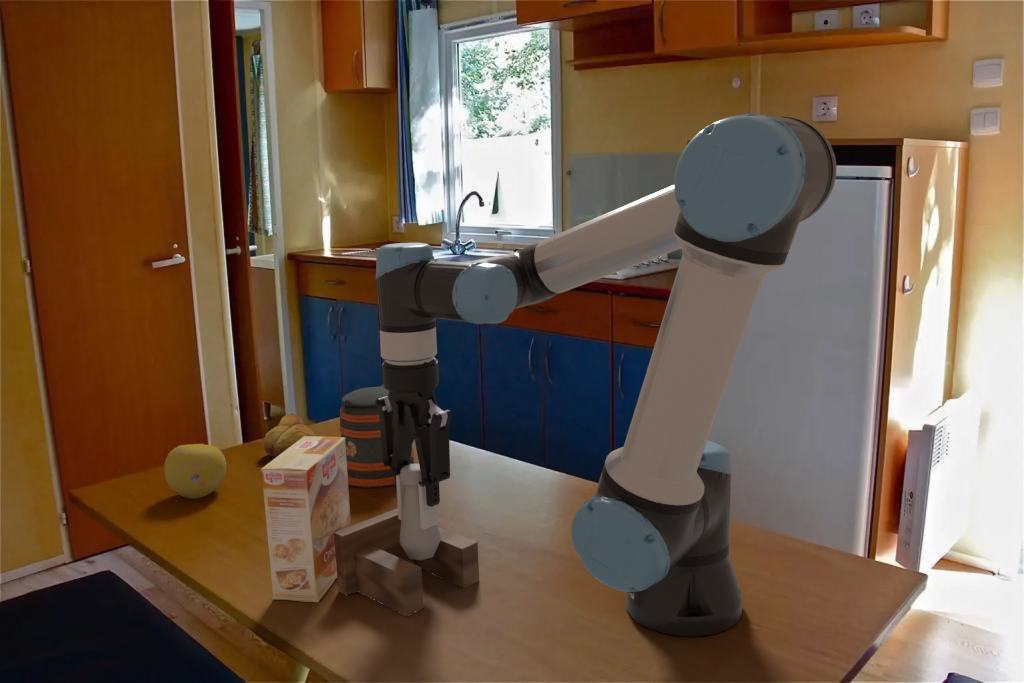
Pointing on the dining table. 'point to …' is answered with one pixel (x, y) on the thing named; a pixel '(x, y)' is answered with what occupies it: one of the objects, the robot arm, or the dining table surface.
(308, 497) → the coffeecake box
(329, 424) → the dining table surface
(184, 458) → the fruit
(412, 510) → the salt shaker
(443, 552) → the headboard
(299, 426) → the bread roll
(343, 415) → the beer stein
